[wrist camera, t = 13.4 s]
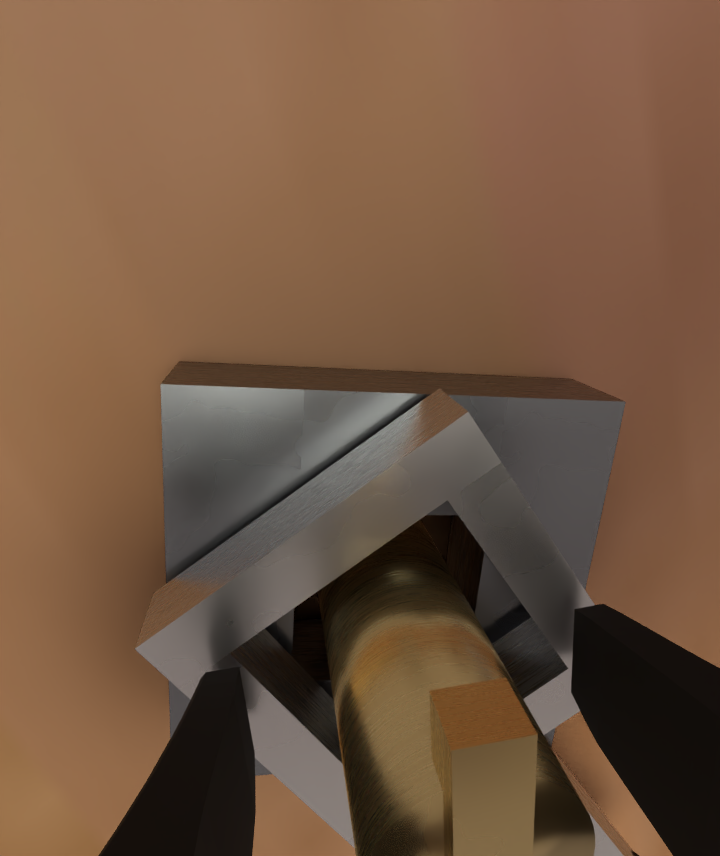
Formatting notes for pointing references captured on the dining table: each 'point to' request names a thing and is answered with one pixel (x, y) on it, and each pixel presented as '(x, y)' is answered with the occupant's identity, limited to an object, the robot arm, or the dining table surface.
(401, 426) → the collar
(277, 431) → the block
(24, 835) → the dining table surface
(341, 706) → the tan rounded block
